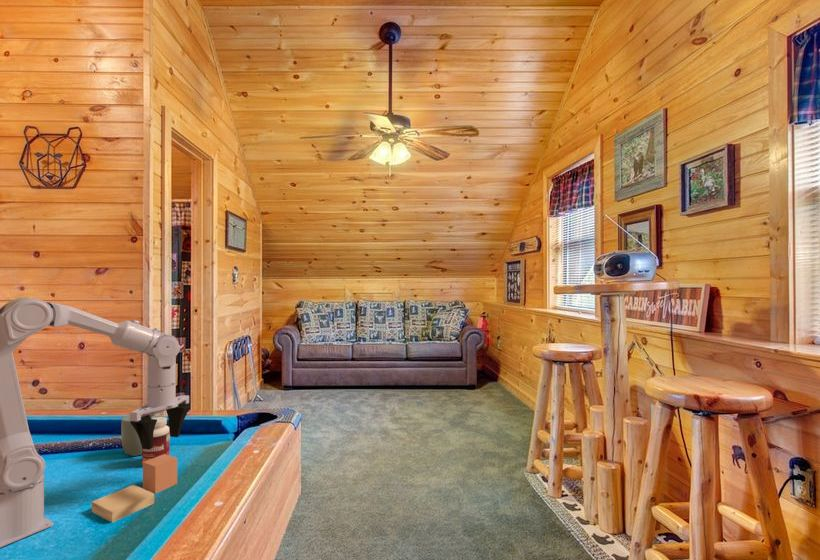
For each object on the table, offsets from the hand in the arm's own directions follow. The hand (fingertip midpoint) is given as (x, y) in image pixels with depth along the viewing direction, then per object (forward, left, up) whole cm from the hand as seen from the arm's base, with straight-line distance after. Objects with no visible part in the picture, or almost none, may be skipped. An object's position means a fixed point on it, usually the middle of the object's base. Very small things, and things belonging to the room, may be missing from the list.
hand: (161, 442), depth 96 cm
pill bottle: (+6, +13, -10) cm, 17 cm away
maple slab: (-10, -4, -10) cm, 15 cm away
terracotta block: (-1, -1, -10) cm, 10 cm away
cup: (+7, +23, -10) cm, 26 cm away
